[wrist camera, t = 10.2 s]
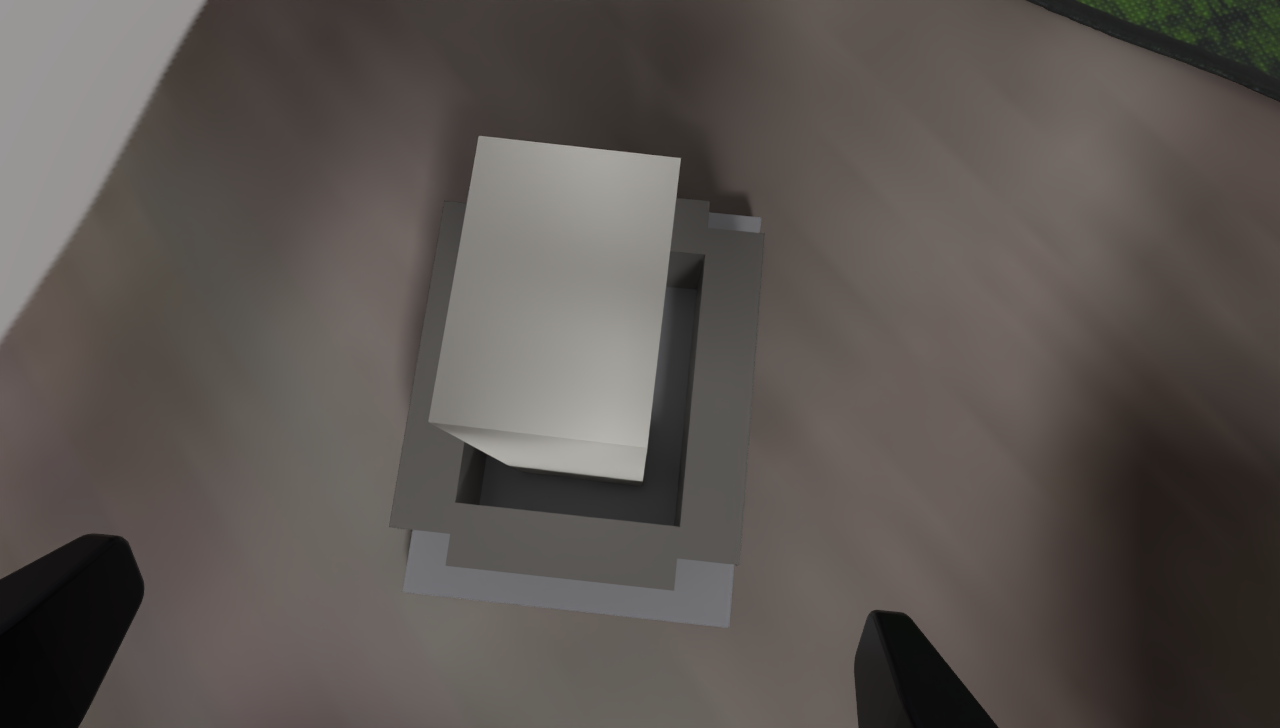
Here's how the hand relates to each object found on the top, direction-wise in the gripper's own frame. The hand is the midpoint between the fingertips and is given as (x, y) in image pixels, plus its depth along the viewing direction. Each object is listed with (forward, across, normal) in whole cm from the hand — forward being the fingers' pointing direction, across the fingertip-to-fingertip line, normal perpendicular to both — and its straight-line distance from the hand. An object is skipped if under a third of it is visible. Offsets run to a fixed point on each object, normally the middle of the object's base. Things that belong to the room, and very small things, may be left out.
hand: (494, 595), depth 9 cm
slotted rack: (+13, 0, +6) cm, 14 cm away
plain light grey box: (+12, 0, +5) cm, 13 cm away
